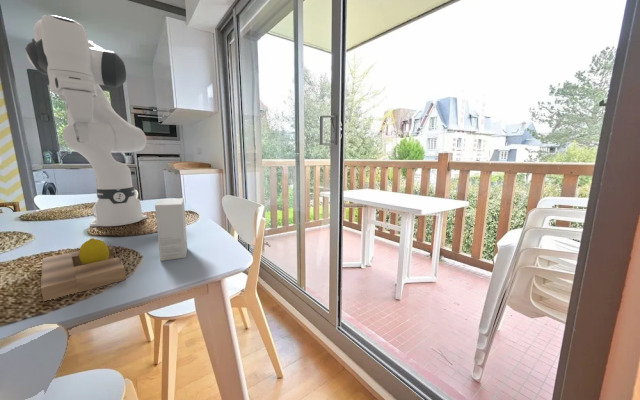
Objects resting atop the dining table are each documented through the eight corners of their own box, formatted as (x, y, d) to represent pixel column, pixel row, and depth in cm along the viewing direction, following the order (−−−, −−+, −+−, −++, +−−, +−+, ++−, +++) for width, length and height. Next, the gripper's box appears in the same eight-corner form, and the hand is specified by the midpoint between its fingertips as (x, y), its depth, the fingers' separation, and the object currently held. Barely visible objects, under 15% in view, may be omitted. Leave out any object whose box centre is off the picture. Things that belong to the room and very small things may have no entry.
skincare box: (164, 250, 76) (158, 199, 73) (189, 247, 79) (184, 197, 76) (159, 261, 68) (153, 204, 66) (187, 258, 71) (182, 202, 68)
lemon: (94, 275, 61) (88, 243, 59) (75, 272, 62) (70, 241, 61) (116, 265, 66) (112, 235, 65) (99, 263, 67) (94, 233, 66)
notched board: (45, 269, 64) (42, 257, 63) (111, 254, 73) (110, 244, 72) (43, 302, 50) (40, 288, 49) (126, 279, 59) (124, 267, 59)
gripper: (56, 91, 71) (64, 142, 74) (57, 77, 57) (68, 140, 60) (86, 95, 76) (93, 143, 78) (94, 82, 62) (103, 141, 64)
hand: (82, 142), depth 69 cm, fingers open, 8 cm apart
